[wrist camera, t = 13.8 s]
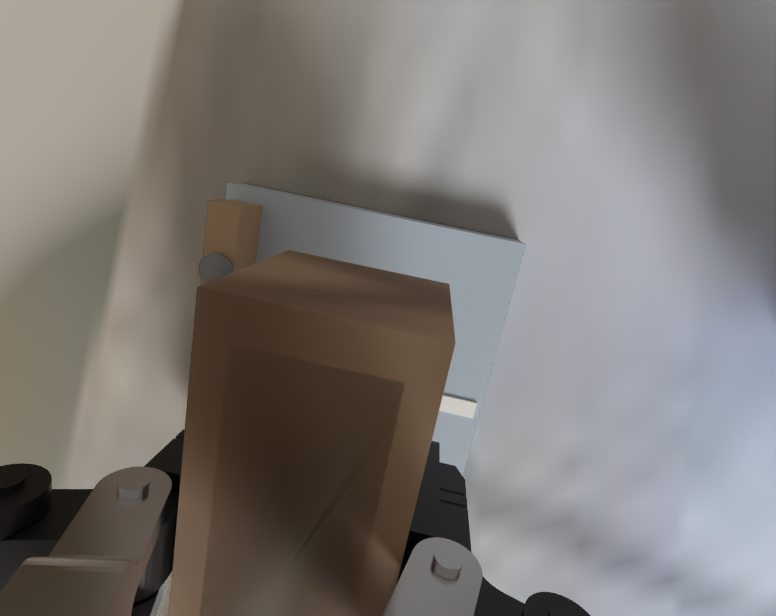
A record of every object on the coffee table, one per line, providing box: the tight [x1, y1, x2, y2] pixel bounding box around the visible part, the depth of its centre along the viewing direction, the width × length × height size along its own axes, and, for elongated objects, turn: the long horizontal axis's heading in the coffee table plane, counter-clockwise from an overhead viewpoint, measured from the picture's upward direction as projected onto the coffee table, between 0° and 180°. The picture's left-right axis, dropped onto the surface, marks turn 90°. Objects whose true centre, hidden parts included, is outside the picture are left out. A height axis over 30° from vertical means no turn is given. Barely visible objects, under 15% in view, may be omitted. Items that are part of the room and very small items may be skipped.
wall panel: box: [199, 182, 526, 476], centre depth 18 cm, size 10×24×3 cm, turn 169°
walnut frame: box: [169, 250, 456, 616], centre depth 10 cm, size 4×10×4 cm, turn 169°
